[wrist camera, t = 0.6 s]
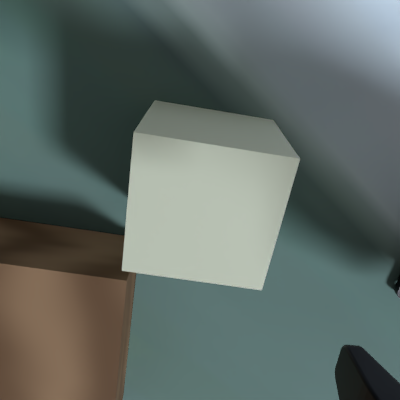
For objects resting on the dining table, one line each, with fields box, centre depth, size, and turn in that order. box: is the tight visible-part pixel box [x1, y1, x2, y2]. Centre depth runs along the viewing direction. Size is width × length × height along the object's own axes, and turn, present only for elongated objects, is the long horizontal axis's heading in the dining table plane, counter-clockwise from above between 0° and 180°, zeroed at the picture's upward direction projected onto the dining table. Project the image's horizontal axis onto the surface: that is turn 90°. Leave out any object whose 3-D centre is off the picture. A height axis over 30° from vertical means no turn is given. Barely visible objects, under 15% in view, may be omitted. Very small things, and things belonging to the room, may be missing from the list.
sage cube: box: [122, 100, 300, 290], centre depth 17 cm, size 6×6×6 cm
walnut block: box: [0, 218, 136, 400], centre depth 23 cm, size 14×14×4 cm
